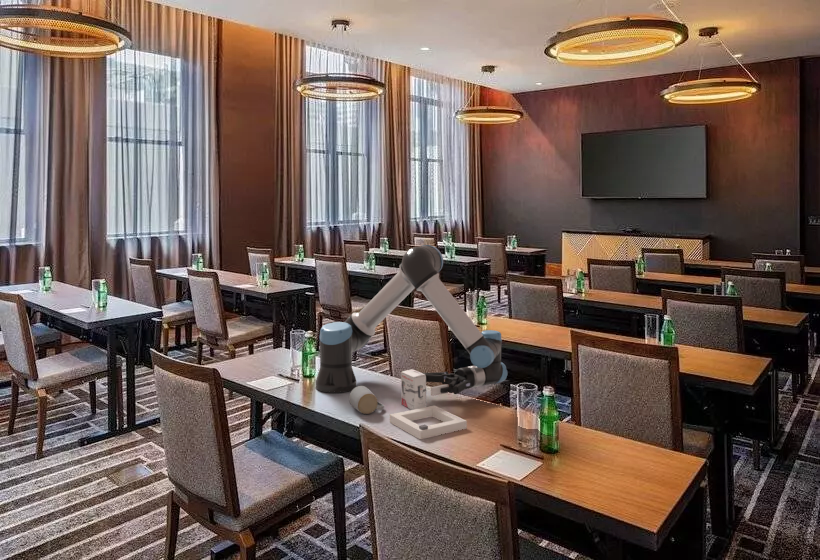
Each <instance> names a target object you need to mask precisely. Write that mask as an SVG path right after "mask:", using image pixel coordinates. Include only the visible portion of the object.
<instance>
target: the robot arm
mask: <svg viewBox="0 0 820 560" xmlns="http://www.w3.org/2000/svg"><path fill="white" fill-rule="evenodd" d="M401 259H402V260H401V263H400V264H399V270H398V272H397V273H396V274H395V275H394V276H393V277H392V278H391V279H390V280H389V281H388V282H386V284H385V285H384V286H383V287H382V289H380V290H379V291H378V293H377V294H376V295H374V296H373V298H372V299H370V300H369V302H368V303H367V304H366V305H364V307H363V308H362V309H361V310H360V311H359V312H352V314H351V315H349V316H348V317H347V319H345V321H343V322H342V321H333V322H328V323H326V324H324V325H322V327H321V328H320V331H319V368H318V373H317V376H316V379H315V389H316V391H320V392H324V393H331V394H332V393H333V394H334V393H335V394H336V393H338V394H339V393H347V392H351V391H352V390H353V389H354V388H355V387H358V386H357V378H356V376H355V372H354V369H353V361H352V359H353V354H354V353H355V352H356V351H359V350H361V349H363V348H364V347H365V346H366V345H367V344H368V343H369V341H370V339H371V338H372V337H373V336H374V335H375V334H376V328H377V327H378V326H379V325H380V324H381V323H382V322H383V321H384V320H385V318H387V317H388V316H389V315H390V314H391V313H392V312H393V310H395V309H396V308H397V307H398V305H400V304H401V302H402V301H404V300H405V299H406V298H407V296H409V295H410V293H412V292H413V291H414V290H416V292H421V294H423V295H424V297H425V298H426V300H427V301H428V302H429V303H430V305H431V306H432V307H433V308H434V309H435V311H436V312H437V314H438V315H439V316H440V317H441V319H442V320H443V321H444V323H445V324H446V326H448V328H449V330H451V332H452V333H453V334H454V336H455V337H456V338H457V339H458V341H459V342H460V343H461V344H462V346H463V347H464V349H465V350H466V351H467V353H468V354H469V358H470V361H471V364H472V365H470V366H465V367H460V368H457V369H456V371H455V372H454V373H452V372H450V373H449V371H440V372H439V371H438V372H437V371H435V372H422V373H423V374H425V375H426V383H441V385H436V386H431V387H430V396H432V397H434V396H439V395H443V394H448V393H449V394H453V395H458V394H459V393H461V392H463V391H465V390H469V389H471V388H472V389H473V388H474V389H477V388H479V387H482V386H489V385H496V384H499V383H502V382H504V381H505V380H506V379H507V378H508V377H507V376H508V370H507V366H506V364H505V363H503V362H502V342H503V339H502V333H501V332H500V331H498V330H493V329H492V330H491V329H485V330H482V331H480V329H479V328H478V327H477V326H476V324H475V323H474V322H473V321H472V319H471V318H470V317H469V315H468V314H467V313H466V312H465V310H464V309H463V307H462V306H461V305H460V304H459V303H458V301H457V300H456V298H455V297H454V296H453V295H452V294H451V292H450V291H449V289H448V288H447V287H446V286H445V284H444V283H443V282H442V280H441V279H440V277H439V276H440V271H441V270H442V269H443V266H444V257H443V254H442V253H441V251H440V250H439V249H438V248H437V247H435V246H433V245H430V244H423V245H420V246H414V247H412V248H411V247H410V248H409V249H408V250H407V251H405V253H404V255H403V256H402V258H401Z"/></svg>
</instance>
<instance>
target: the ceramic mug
mask: <svg viewBox="0 0 820 560" xmlns="http://www.w3.org/2000/svg"><path fill="white" fill-rule="evenodd" d="M348 399H349V400H348V401H349V403H350V405H351V407H353V408H354V409H355V410H357V411H358V412H359V413H361V414H364V415H370V414H372V413H374V412H375V410H377V411H378V410H379V411H383V410H384V408H385V404H383V403H382V402H379V401H378V399H377V396H376V394H374V393H373V392H372V391H371V390H370V389H369V388H368V387H367V386H365V385H359V386H357V387H355V388H354V389H353V390H351V391H350V393H349V397H348Z"/></svg>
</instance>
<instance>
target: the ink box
mask: <svg viewBox="0 0 820 560" xmlns="http://www.w3.org/2000/svg"><path fill="white" fill-rule="evenodd" d="M423 373H424V372H420V371H419V370H415V369H411V368H410V369H407V370H403V371H401V372H400V384H401V385H400V386H401V389H400V390H401V395H400V396H401V405H402V406H403V405H404V407H405V408H408V409H410V410H414V409H419V408H424V407H427V382H426V375H425V374H423Z"/></svg>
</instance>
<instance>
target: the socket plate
mask: <svg viewBox="0 0 820 560" xmlns="http://www.w3.org/2000/svg"><path fill="white" fill-rule="evenodd" d="M432 417H433V418H435V419H437V420H438V421H440V420H441V422H439V423H435V424H430V425H427V424H422V425H421V424H417V423H416V422H414V421H416V420H422V419H426V418H432ZM442 421H443V422H442ZM389 423H390V424H392V425H394V426H396V427H397V428H399V429H401V430H403V431H404V432H406V433H408V434H409V435H411V436H413V437H414V438H416V439H418V440H425V439H428V438H433V437H437V436H438V437H439V436H441V434H442V435H445V433H446V434H450V433H455V432H459V431H463V430H467V428H468V427H467V426H468V425H467V423H468V422H467V420H466V419H463V418H461V417H460V416H457V415H455V414H453V413H451V412H449V411H447V410H445V409H443V408H441V407H439V406H437V405H431V406H426V407H424V408H419V409H414V410H411V409H410V410H405V411H401V412H395V413H391V414H389ZM462 429H463V430H462ZM458 430H459V431H458ZM454 431H455V432H454Z"/></svg>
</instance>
